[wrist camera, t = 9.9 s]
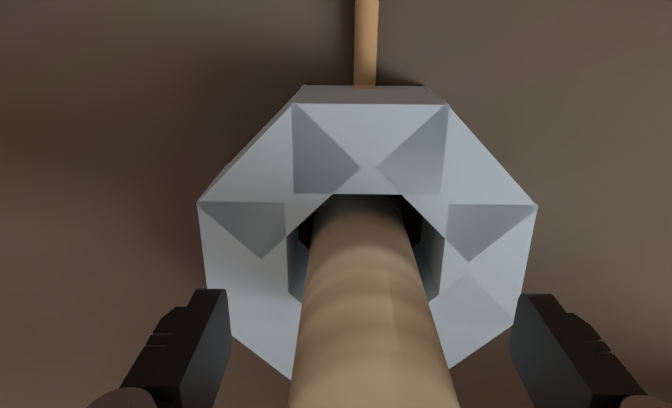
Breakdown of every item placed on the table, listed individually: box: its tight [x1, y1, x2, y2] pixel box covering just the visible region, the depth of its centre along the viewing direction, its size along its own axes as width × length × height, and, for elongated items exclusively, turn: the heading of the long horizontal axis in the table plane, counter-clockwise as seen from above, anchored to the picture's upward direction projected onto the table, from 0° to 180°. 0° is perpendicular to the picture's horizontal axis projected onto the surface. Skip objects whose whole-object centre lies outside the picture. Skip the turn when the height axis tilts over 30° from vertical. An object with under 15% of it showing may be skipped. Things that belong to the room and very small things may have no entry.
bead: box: [196, 84, 538, 380], centre depth 17 cm, size 11×11×4 cm
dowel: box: [287, 194, 460, 408], centre depth 13 cm, size 4×4×12 cm
